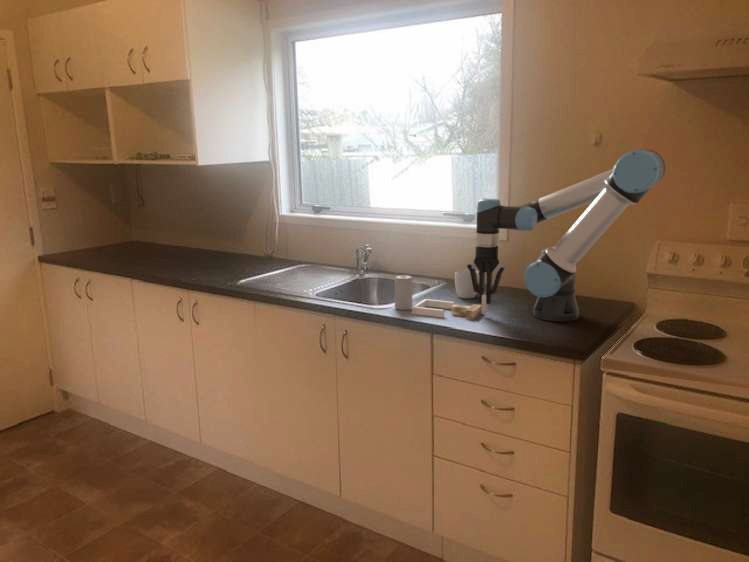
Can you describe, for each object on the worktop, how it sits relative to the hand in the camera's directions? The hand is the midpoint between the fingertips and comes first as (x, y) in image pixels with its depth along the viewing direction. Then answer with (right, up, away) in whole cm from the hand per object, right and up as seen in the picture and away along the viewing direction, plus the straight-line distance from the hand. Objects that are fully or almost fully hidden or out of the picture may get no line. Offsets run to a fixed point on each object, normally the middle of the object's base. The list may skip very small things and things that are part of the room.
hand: (484, 312), depth 214 cm
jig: (-17, 0, +8) cm, 18 cm away
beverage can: (-27, +1, +12) cm, 30 cm away
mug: (-1, +5, +30) cm, 30 cm away
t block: (-6, -1, +3) cm, 7 cm away
